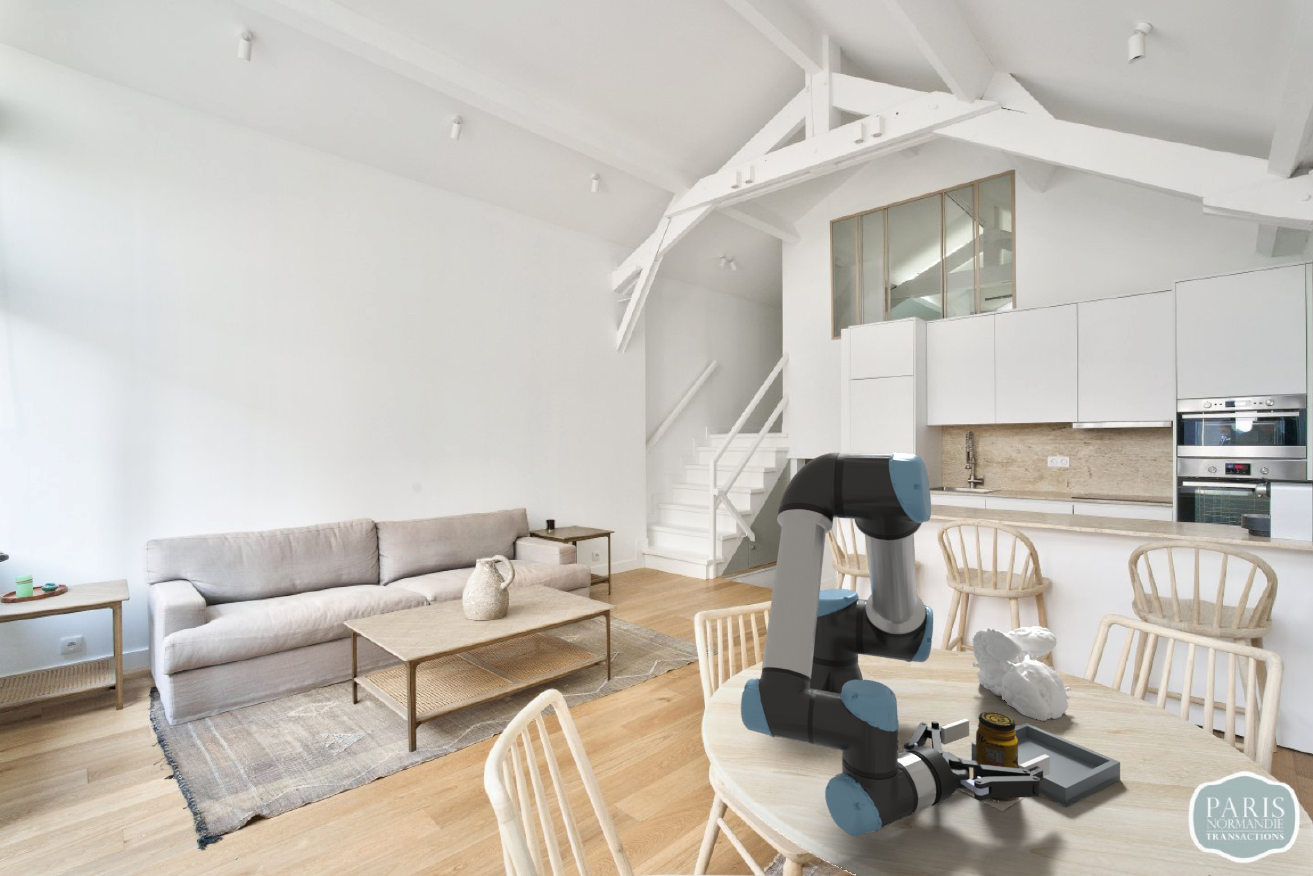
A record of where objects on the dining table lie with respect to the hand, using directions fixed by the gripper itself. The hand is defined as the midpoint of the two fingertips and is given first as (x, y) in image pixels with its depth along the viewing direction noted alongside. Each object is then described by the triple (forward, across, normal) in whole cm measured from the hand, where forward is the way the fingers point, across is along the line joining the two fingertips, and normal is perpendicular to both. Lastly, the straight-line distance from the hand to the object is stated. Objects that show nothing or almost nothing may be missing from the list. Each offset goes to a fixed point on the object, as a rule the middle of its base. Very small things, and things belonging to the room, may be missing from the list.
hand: (1005, 744), depth 101 cm
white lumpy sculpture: (+35, -19, -7) cm, 40 cm away
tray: (+11, 0, -7) cm, 13 cm away
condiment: (-3, 0, -7) cm, 8 cm away
